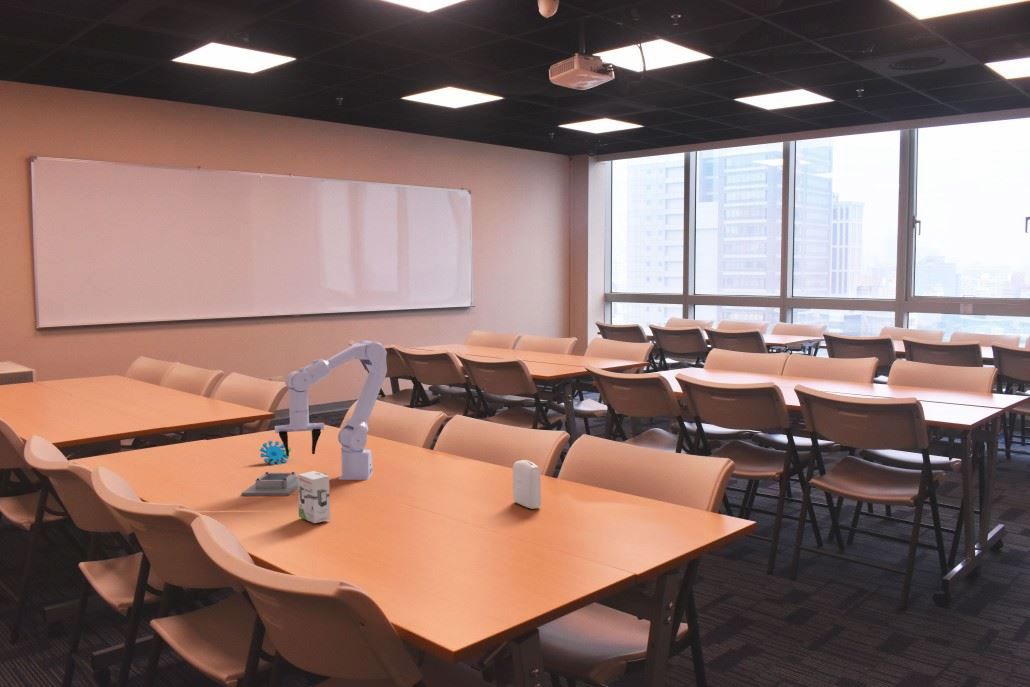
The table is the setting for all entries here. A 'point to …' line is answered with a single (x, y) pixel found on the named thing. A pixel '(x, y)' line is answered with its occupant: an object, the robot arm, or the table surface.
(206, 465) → the table surface
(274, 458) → the blue spiky round piece
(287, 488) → the tray
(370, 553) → the table surface
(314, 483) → the ink box
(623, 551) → the table surface
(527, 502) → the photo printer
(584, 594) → the table surface
